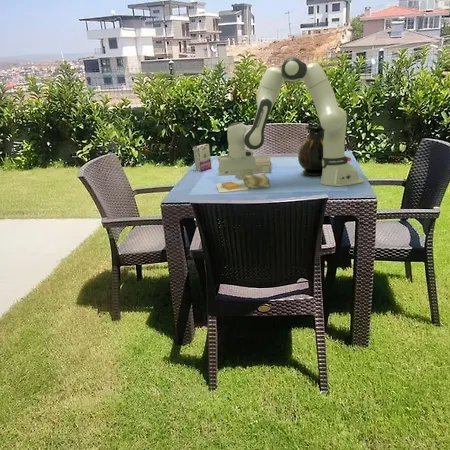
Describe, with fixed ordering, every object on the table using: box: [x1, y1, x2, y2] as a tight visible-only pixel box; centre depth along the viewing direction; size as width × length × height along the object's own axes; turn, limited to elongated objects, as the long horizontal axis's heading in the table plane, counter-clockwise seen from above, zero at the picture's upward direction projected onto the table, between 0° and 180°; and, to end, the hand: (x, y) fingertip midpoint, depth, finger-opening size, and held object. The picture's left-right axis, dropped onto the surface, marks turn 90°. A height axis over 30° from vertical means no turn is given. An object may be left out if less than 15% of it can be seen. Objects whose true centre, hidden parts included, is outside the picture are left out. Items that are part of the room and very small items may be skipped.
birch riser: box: [243, 173, 271, 190], centre depth 246 cm, size 12×14×4 cm
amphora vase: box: [297, 123, 325, 178], centre depth 256 cm, size 22×22×28 cm
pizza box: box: [217, 155, 272, 177], centre depth 288 cm, size 32×5×32 cm
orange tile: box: [220, 181, 239, 190], centre depth 243 cm, size 6×9×2 cm, turn 26°
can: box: [238, 169, 255, 181], centre depth 262 cm, size 9×9×12 cm
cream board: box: [215, 180, 250, 194], centre depth 246 cm, size 16×20×1 cm
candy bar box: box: [193, 143, 212, 173], centre depth 292 cm, size 11×5×16 cm, turn 143°
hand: (238, 178), depth 245 cm, fingers closed
